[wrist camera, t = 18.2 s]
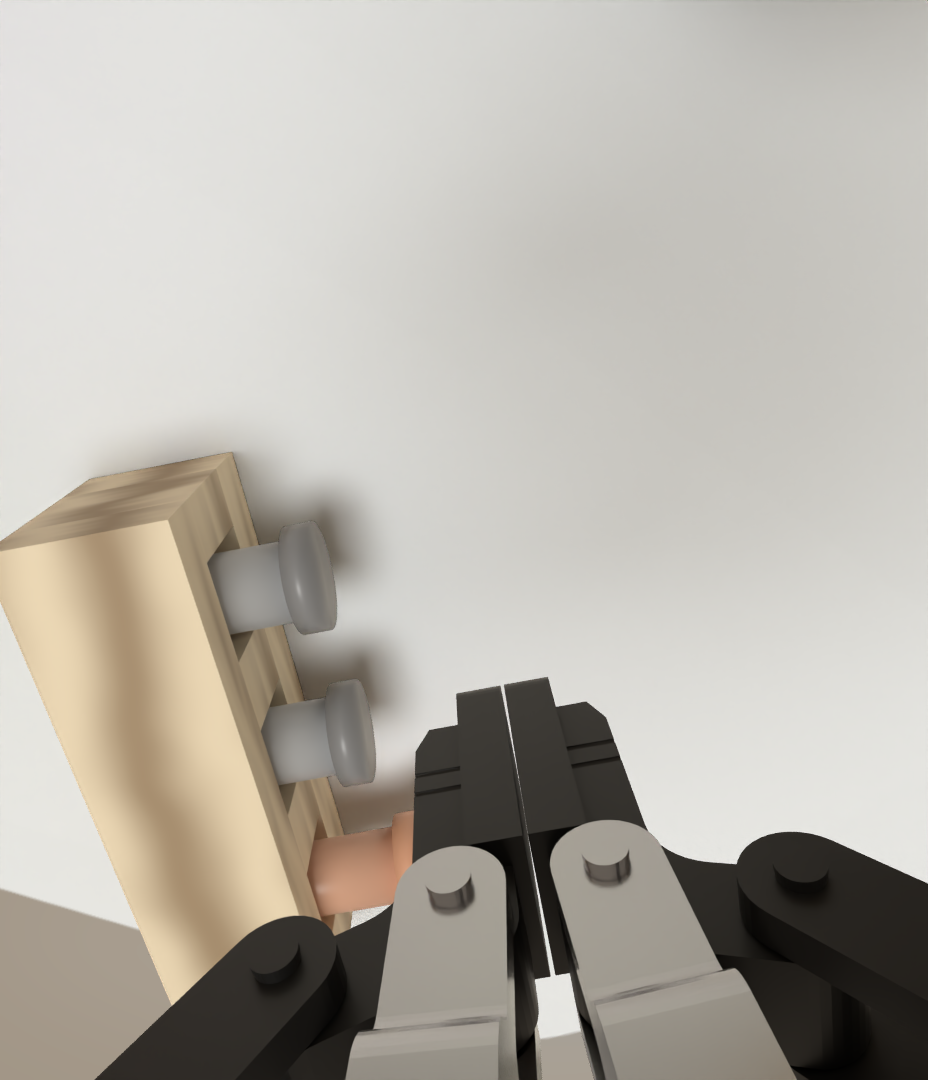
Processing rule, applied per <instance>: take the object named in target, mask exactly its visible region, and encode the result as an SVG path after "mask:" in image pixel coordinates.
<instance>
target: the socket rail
mask: <svg viewBox="0 0 928 1080" xmlns="http://www.w3.org/2000/svg"><path fill="white" fill-rule="evenodd" d="M257 545H259V543H258V540H257V536H256V533H255V530H254V526H253V523H252V519H251V516H250V513H249V509H248V506H247V502H246V499H245V496H244V492H243V489H242V485H241V482H240V479H239V475H238V472H237V468H236V465H235V461H234V458H233V455H232V452H229V453H224V454H218V455H213V456H208V457H203V458H198V459H192V460H187V461H182V462H177V463H172V464H166V465H161V466H156V467H151V468H146V469H140V470H135V471H130V472H125V473H120V474H114V475H109V476H104V477H99V478H94V479H89V480H88V481H86V482H85V483H83V484H82V485H80V486H79V487H78V488H76V489H75V490H73V491H72V492H70V493H69V494H68V495H66V496H65V497H63V498H62V499H60V500H59V501H58V502H56V503H55V504H53V505H52V506H50V507H49V508H48V509H46V510H45V511H43V512H42V513H40V514H39V515H38V516H36V517H35V518H33V519H32V520H30V521H29V522H28V523H26V524H25V525H23V526H22V527H20V528H19V529H18V530H16V531H15V532H13V533H12V534H10V535H9V536H8V537H6V538H5V539H3V540H2V541H0V602H1V605H2V607H3V609H4V612H5V614H6V616H7V619H8V621H9V623H10V626H11V628H12V630H13V633H14V635H15V638H16V640H17V642H18V645H19V647H20V649H21V652H22V654H23V656H24V659H25V661H26V663H27V666H28V668H29V671H30V673H31V675H32V678H33V680H34V682H35V685H36V687H37V689H38V692H39V694H40V696H41V699H42V701H43V703H44V706H45V708H46V711H47V713H48V715H49V718H50V720H51V722H52V725H53V727H54V729H55V732H56V734H57V736H58V739H59V741H60V743H61V746H62V748H63V751H64V753H65V755H66V758H67V760H68V762H69V765H70V767H71V769H72V772H73V774H74V776H75V779H76V781H77V783H78V786H79V788H80V791H81V793H82V795H83V798H84V800H85V802H86V805H87V807H88V809H89V812H90V814H91V816H92V819H93V821H94V824H95V826H96V828H97V831H98V833H99V835H100V838H101V840H102V842H103V845H104V847H105V849H106V852H107V854H108V856H109V859H110V861H111V864H112V866H113V868H114V871H115V873H116V875H117V878H118V880H119V882H120V885H121V887H122V889H123V892H124V894H125V896H126V899H127V901H128V904H129V906H130V908H131V911H132V913H133V915H134V918H135V920H136V922H137V925H138V927H139V929H140V932H141V934H142V936H143V939H144V941H145V944H146V946H147V948H148V951H149V953H150V955H151V958H152V960H153V962H154V965H155V967H156V969H157V972H158V974H159V976H160V979H161V981H162V984H163V986H164V988H165V991H166V993H167V995H168V998H169V1000H170V1002H171V1005H173V1004H174V1003H175V1002H177V1001H178V1000H179V999H180V998H181V997H182V996H183V995H184V994H185V993H186V992H187V991H188V990H189V989H190V988H191V987H192V986H193V985H194V984H195V983H196V982H197V981H199V980H200V979H201V978H202V977H203V976H204V975H205V974H206V973H207V972H208V971H209V970H210V969H211V968H212V967H213V966H214V965H215V964H216V963H217V962H218V961H219V960H221V959H222V958H223V957H224V956H225V955H226V954H227V953H228V952H229V951H230V950H231V949H232V948H233V947H234V946H235V945H236V944H237V943H238V942H239V941H241V940H242V939H243V938H244V937H245V936H246V935H248V934H249V933H250V932H252V931H253V930H255V929H256V928H258V927H260V926H262V925H264V924H266V923H268V922H271V921H273V920H276V919H279V918H283V917H288V916H309V917H313V918H316V919H319V920H321V921H322V922H324V923H325V924H326V925H327V926H328V927H329V928H330V929H331V930H332V932H333V934H334V936H335V935H338V934H340V933H342V932H344V931H346V930H349V929H350V928H351V919H352V911H351V912H345V913H339V914H333V915H328V916H322V917H320V914H319V911H318V908H317V905H316V902H315V899H314V895H313V892H312V889H311V886H310V883H309V880H308V877H307V871H308V866H309V861H310V856H311V850H312V845H313V840H319V839H324V838H330V837H336V836H341V835H344V832H343V829H342V825H341V822H340V819H339V815H338V812H337V808H336V805H335V802H334V798H333V795H332V791H331V788H330V785H329V781H328V778H327V777H322V778H317V779H311V780H306V781H300V782H295V783H289V784H283V785H278V783H277V780H276V777H275V774H274V771H273V768H272V765H271V761H270V758H269V755H268V752H267V749H266V746H265V743H264V740H263V737H262V733H261V729H262V726H263V723H264V720H265V717H266V714H267V712H268V709H269V708H270V707H275V706H281V705H286V704H292V703H297V702H302V701H305V700H304V696H303V693H302V689H301V686H300V683H299V679H298V676H297V672H296V669H295V666H294V662H293V659H292V655H291V652H290V649H289V645H288V642H287V638H286V635H285V632H284V628H283V625H279V626H274V627H268V628H263V629H258V630H252V631H247V632H242V633H236V634H231V635H230V634H229V631H228V627H227V624H226V621H225V618H224V615H223V612H222V609H221V606H220V602H219V599H218V596H217V593H216V590H215V587H214V584H213V581H212V578H211V574H210V571H209V568H208V565H207V562H208V561H209V559H210V558H211V556H212V555H213V554H215V553H220V552H225V551H231V550H236V549H241V548H247V547H252V546H257Z"/></svg>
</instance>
